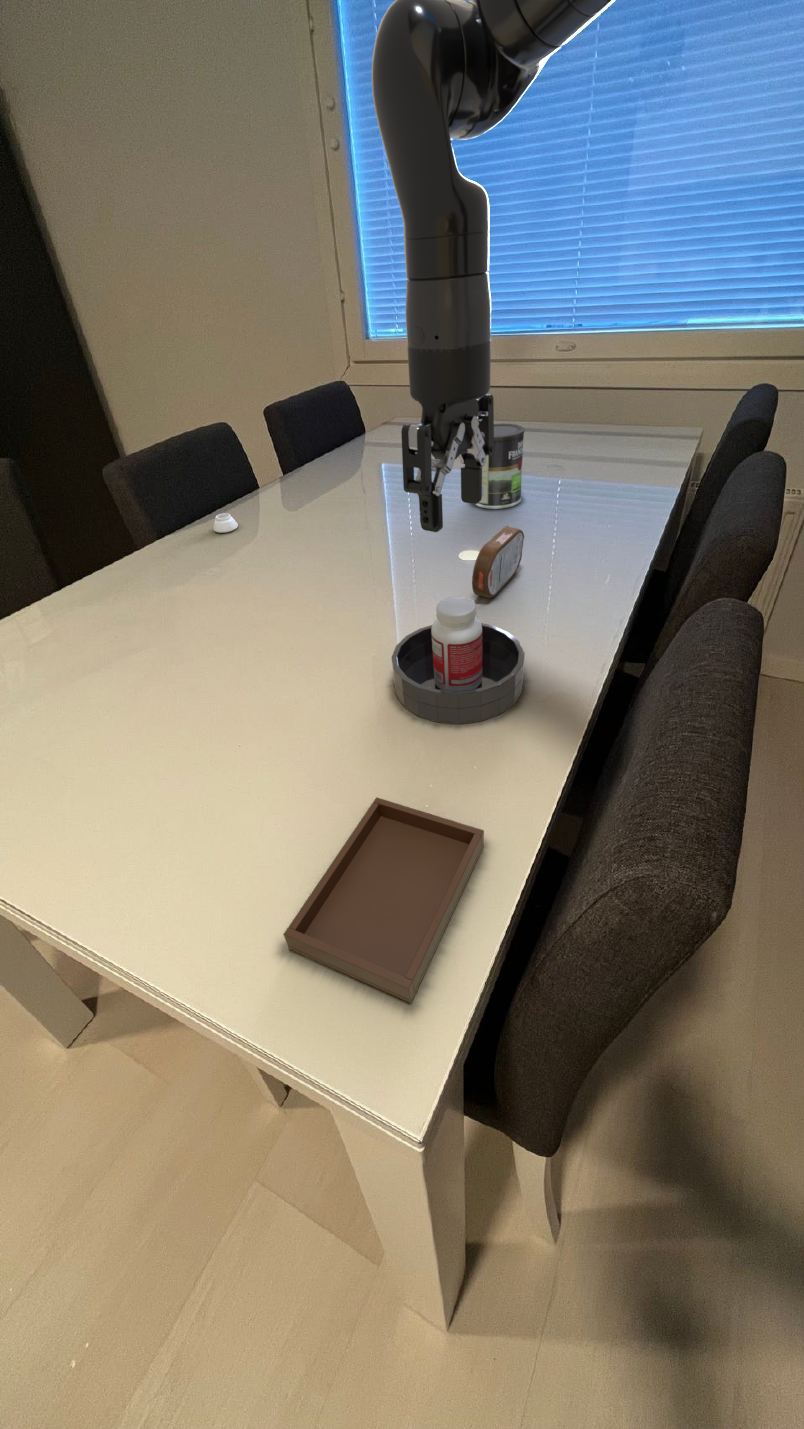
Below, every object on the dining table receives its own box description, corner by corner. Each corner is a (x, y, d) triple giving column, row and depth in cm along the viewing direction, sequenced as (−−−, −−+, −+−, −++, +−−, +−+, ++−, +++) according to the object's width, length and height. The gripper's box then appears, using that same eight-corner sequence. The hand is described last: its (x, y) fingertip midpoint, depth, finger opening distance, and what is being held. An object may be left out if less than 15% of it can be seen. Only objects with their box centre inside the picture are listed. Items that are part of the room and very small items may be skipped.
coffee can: (528, 495, 129) (532, 424, 120) (509, 512, 123) (511, 438, 114) (485, 490, 134) (485, 421, 125) (463, 506, 127) (463, 435, 118)
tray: (410, 1003, 46) (408, 988, 45) (288, 948, 51) (283, 933, 49) (483, 845, 57) (484, 830, 56) (378, 812, 62) (376, 796, 60)
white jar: (242, 525, 129) (221, 524, 130) (238, 511, 127) (218, 511, 128) (231, 534, 125) (210, 533, 126) (227, 520, 123) (206, 520, 125)
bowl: (549, 680, 77) (551, 651, 74) (459, 742, 69) (458, 712, 66) (456, 636, 87) (456, 608, 84) (369, 686, 79) (365, 657, 76)
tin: (508, 565, 104) (510, 517, 98) (525, 567, 102) (528, 519, 97) (470, 604, 94) (469, 553, 89) (488, 608, 93) (489, 556, 87)
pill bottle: (490, 675, 78) (491, 599, 71) (468, 701, 74) (467, 623, 68) (448, 663, 81) (446, 589, 74) (425, 687, 77) (420, 611, 70)
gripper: (445, 353, 48) (450, 547, 58) (520, 325, 57) (513, 497, 67) (368, 351, 51) (386, 535, 61) (451, 326, 60) (454, 489, 70)
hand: (452, 515), depth 64 cm, fingers open, 8 cm apart
